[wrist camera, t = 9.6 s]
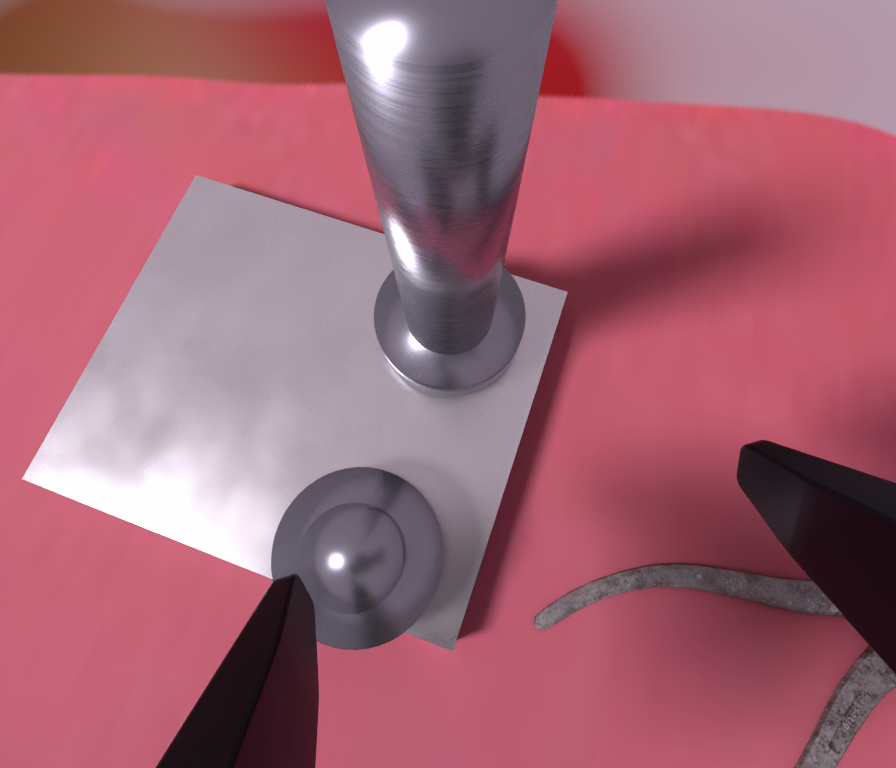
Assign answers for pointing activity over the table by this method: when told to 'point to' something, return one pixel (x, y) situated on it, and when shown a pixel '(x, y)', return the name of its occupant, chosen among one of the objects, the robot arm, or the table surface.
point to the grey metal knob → (361, 554)
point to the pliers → (865, 675)
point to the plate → (280, 393)
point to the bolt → (445, 172)
